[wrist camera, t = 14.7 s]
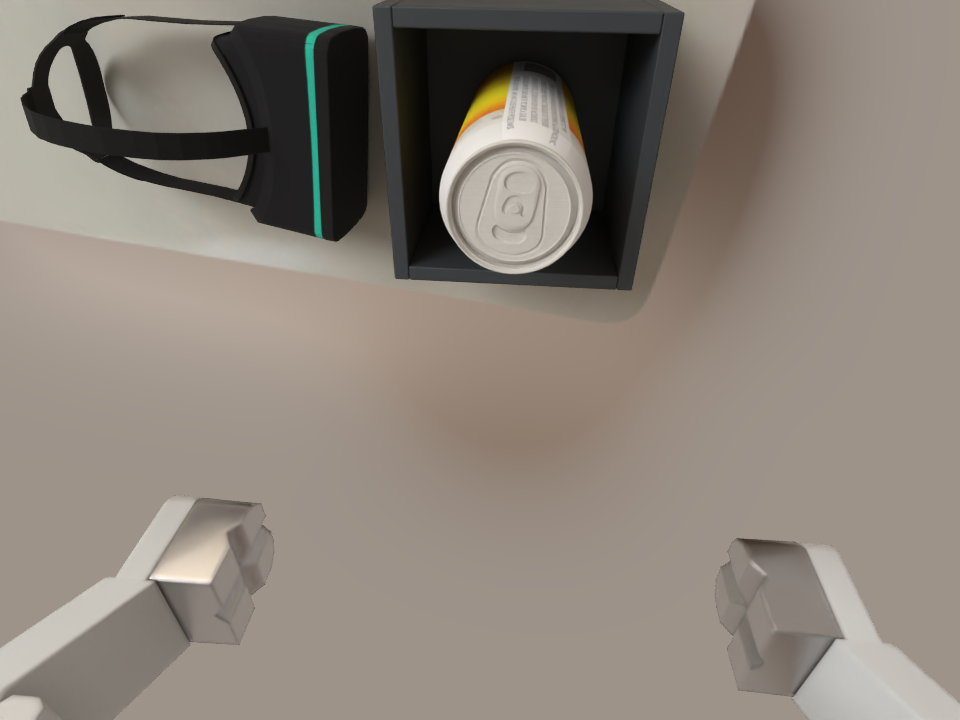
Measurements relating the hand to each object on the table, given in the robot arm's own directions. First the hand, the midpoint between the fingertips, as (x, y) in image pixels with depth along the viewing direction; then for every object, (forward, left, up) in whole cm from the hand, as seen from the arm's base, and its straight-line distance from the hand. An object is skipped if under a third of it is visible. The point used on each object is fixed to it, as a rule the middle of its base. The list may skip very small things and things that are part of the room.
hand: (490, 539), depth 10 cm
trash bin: (0, 0, -30) cm, 30 cm away
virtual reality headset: (+18, 0, -31) cm, 36 cm away
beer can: (0, 0, -30) cm, 30 cm away
